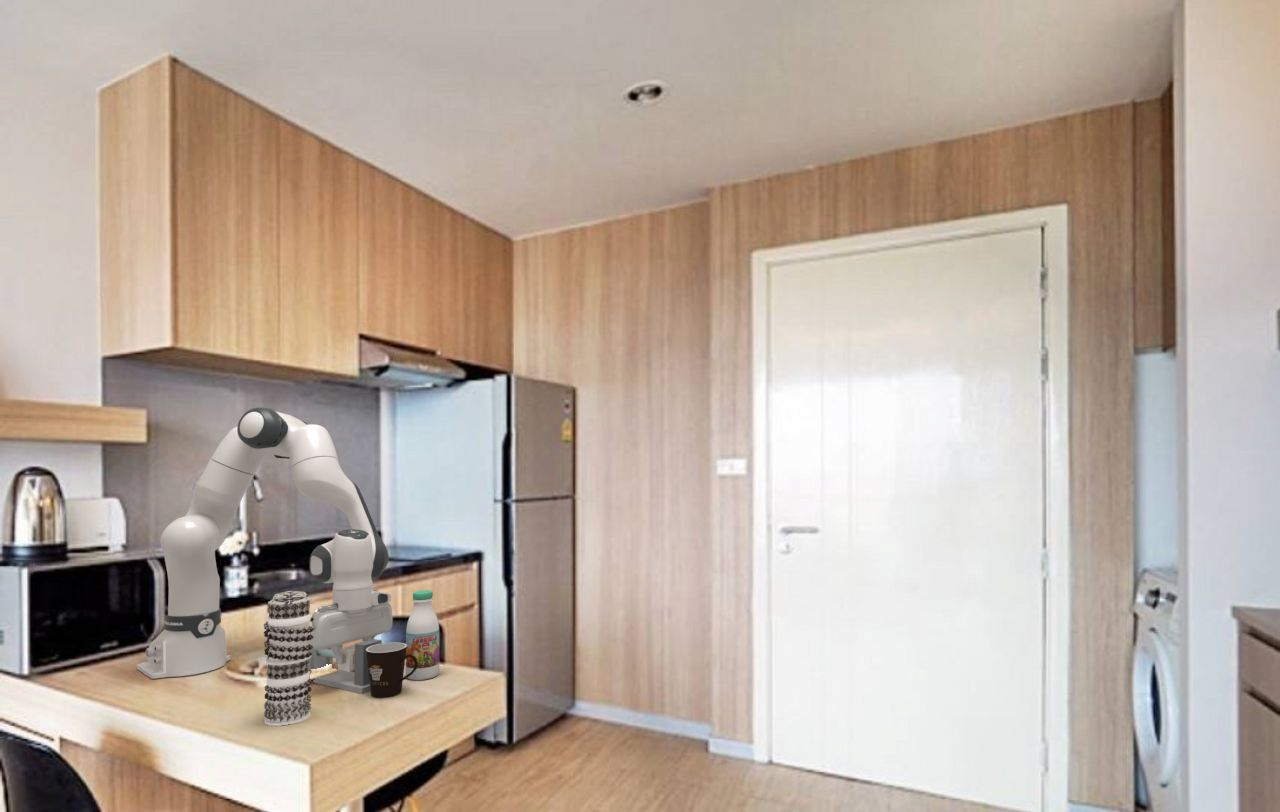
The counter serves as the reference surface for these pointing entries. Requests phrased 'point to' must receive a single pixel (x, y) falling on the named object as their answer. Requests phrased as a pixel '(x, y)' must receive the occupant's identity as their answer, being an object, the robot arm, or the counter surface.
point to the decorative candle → (288, 659)
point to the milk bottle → (422, 637)
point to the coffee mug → (387, 668)
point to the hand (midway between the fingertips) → (352, 660)
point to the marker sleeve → (348, 658)
